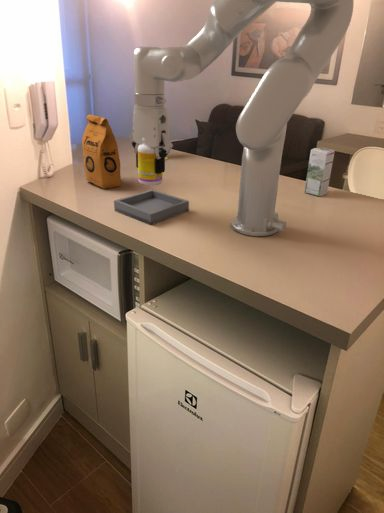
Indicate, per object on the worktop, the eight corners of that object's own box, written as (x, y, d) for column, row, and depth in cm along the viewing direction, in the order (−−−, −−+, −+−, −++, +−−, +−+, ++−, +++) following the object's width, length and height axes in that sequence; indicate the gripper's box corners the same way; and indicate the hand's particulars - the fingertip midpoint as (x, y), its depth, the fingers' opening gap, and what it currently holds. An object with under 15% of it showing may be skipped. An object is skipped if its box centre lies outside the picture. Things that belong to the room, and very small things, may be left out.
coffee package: (99, 191, 134) (93, 120, 124) (82, 181, 143) (75, 114, 133) (125, 186, 140) (122, 117, 130) (108, 177, 148) (103, 112, 138)
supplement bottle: (158, 187, 112) (158, 138, 106) (135, 184, 113) (133, 136, 107) (165, 180, 118) (165, 133, 112) (142, 177, 119) (141, 132, 113)
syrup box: (327, 193, 138) (335, 149, 132) (319, 197, 134) (327, 152, 128) (312, 189, 142) (319, 146, 135) (303, 193, 138) (310, 149, 131)
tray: (188, 210, 120) (188, 201, 119) (150, 225, 110) (150, 214, 109) (152, 198, 129) (152, 189, 128) (114, 210, 119) (113, 200, 118)
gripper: (184, 103, 103) (182, 173, 112) (137, 96, 114) (139, 161, 122) (163, 105, 98) (162, 179, 107) (116, 98, 109) (119, 165, 117)
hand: (150, 169), depth 114 cm, fingers closed on supplement bottle, 6 cm apart
